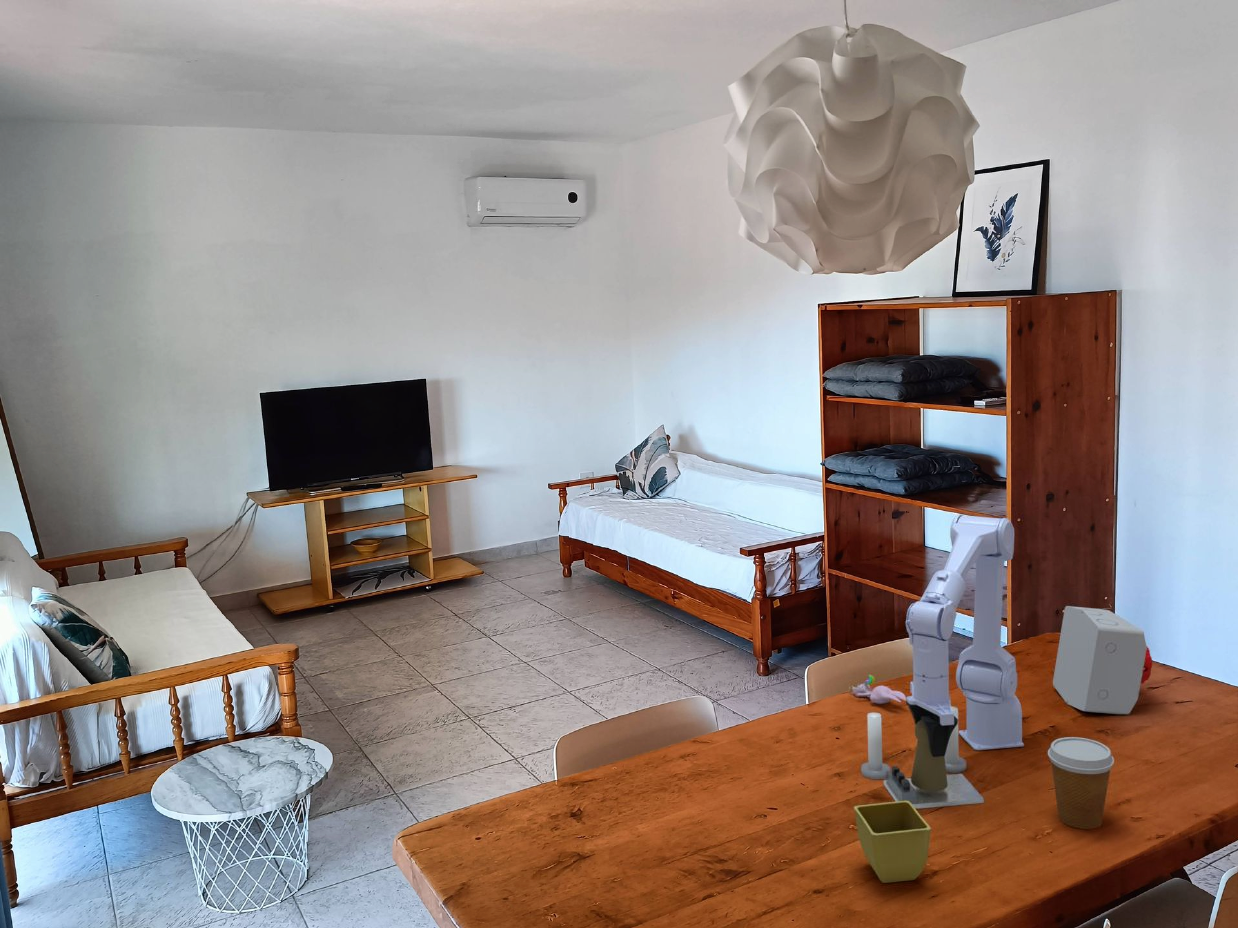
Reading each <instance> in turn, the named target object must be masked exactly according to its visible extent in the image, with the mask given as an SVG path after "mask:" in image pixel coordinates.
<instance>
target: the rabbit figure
mask: <svg viewBox="0 0 1238 928" xmlns="http://www.w3.org/2000/svg"><path fill="white" fill-rule="evenodd" d="M868 677H869V679H867V680H865V682H864V683H861V682H860V683H858V682H857V686H854V685H851V686H850V685H848V692H847V693H849V694H851V692H853V695H854V696H855V697H858V698H861V697H863V698H864V697H865V698H866V697H867V698H869V699H870V701H871V702H872V703H874V704H875V703H876V704H877V705H883V704H887V703H889V702H891V700H893V701H896V702H897V703H902V701H905V702H906V701H907V696H906V695H905V694H904V693H903V692H902V691H900V690H899V691H898V690H893V689H891V688H890V687H888V686H885V685H878V686H875V687H874V688H873V689H872V688H871V686H873V685H874V684H875V683H876V678H875V676H873V675H872V674H868ZM900 699H901V700H902V701H901V700H900Z"/></svg>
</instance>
